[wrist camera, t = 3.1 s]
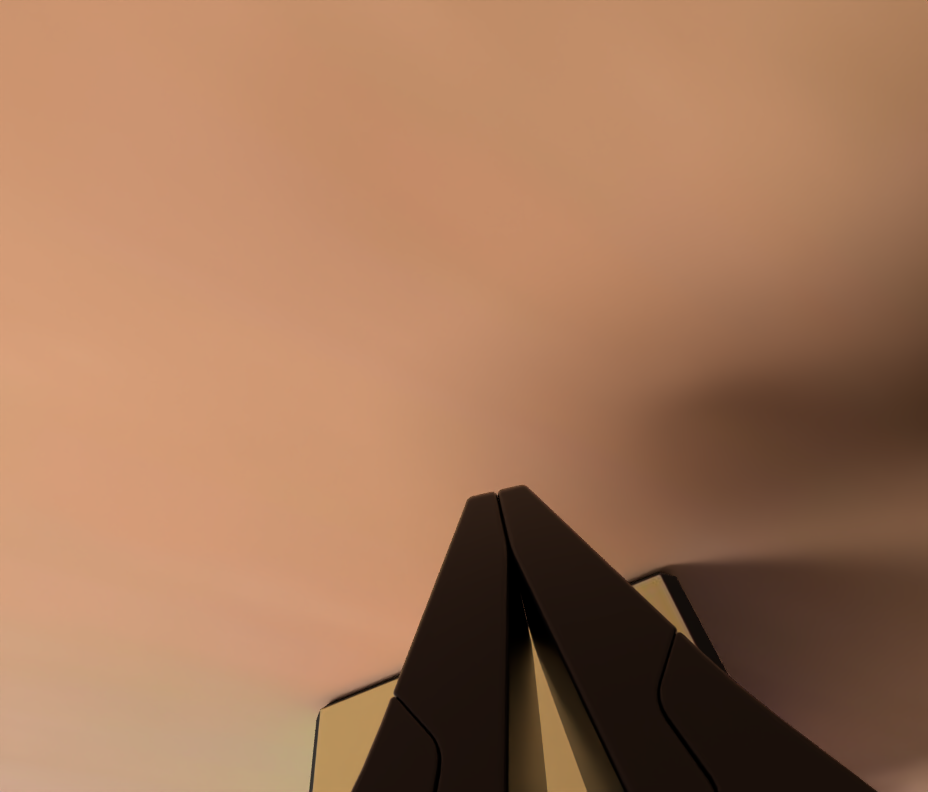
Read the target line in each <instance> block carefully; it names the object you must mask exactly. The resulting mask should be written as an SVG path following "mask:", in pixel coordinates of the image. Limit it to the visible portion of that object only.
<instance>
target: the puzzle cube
mask: <svg viewBox="0 0 928 792" xmlns="http://www.w3.org/2000/svg"><path fill="white" fill-rule="evenodd" d="M630 585H632V586H633V587H634V588H635V589H636V590H637V591H638V592H639V593H640V594H641V595H642V596H643V597H644V598H645V599H646V600H647V601H648V602H649V603H651V604H652V605H653V606H654V607H655V608H656V609H657V610H658V611H659V612H660V613H661V614H662V615H663V616H664V617H665V618H666V619H667V620H668V621H670V622H671V623H672V624H673V625H674V626H675V627H676V628H677V633H678V632H681V633H683V634H684V635H685V636H686V637H687V638H688V639H689V640H690V641H691V642H692V643H693V644H694V645H695V646H696V647H697V648H698V649H699V650H701V651H702V652H703V653H704V654H705V655H706V656H707V657H708V658H709V659H710V660H712V661H713V662H714V663H715V664H716V665H717V666H718V667H719V668H721V669H722V670H723V671H724V672H725V673H726V674H727V672H726V670H725V668H724V666H723V665H722V663H721V661H720V659H719V657H718V655H717V653H716V651H715V649H714V648H713V646H712V644H711V642H710V640H709V638H708V636H707V634H706V632H705V631H704V629H703V627H702V625H701V623H700V621H699V619H698V617H697V615H696V614H695V612H694V610H693V608H692V606H691V604H690V602H689V600H688V598H687V597H686V595H685V593H684V591H683V589H682V587H681V585H680V583H679V581H678V580H677V578H676V577H675V576H671V575H668V574H664V573H660V572H658V573H656V574H653V575H651V576H648V577H646V578H643V579H641V580H638V581H636V582H634V583H631V584H630ZM528 628H529V626H528ZM529 633H530V630H529ZM530 638H531V643H532V650H533V657H534V666H535V676H536V685H537V695H538V704H539V714H540V723H541V733H542V743H543V752H544V762H545V771H546V781H547V790H548V792H587V790H586V787H585V784H584V782H583V779H582V776H581V774H580V771H579V768H578V765H577V763H576V760H575V757H574V754H573V752H572V749H571V746H570V744H569V741H568V738H567V735H566V733H565V730H564V727H563V725H562V722H561V719H560V716H559V714H558V711H557V708H556V706H555V703H554V700H553V697H552V695H551V692H550V689H549V686H548V684H547V681H546V678H545V676H544V673H543V670H542V667H541V665H540V662H539V659H538V656H537V653H536V650H535V647H534V644H533V641H532V637H531V633H530ZM727 675H728V674H727ZM398 678H399V676H398V677H395V678H393V679H391V680H388V681H386V682H383V683H381V684H378V685H376V686H373V687H371V688H368V689H366V690H363V691H361V692H358V693H356V694H353V695H351V696H348V697H346V698H343V699H341V700H338V701H336V702H333V703H331V704H328V705H326V706H325V707H324V708H322V709H321V710H320V712H319V715H318V717H317V720H316V730H315V740H314V750H313V759H312V769H311V779H310V789H309V792H351V790H352V788H353V786H354V784H355V782H356V780H357V778H358V776H359V774H360V772H361V770H362V767H363V765H364V763H365V760H366V758H367V755H368V753H369V751H370V748H371V746H372V744H373V741H374V739H375V736H376V734H377V732H378V729H379V727H380V724H381V722H382V719H383V717H384V714H385V711H386V709H387V706H388V703H389V701H390V699H391V698H392V697H394V695H393V691H394V689H395V686H396V684H397V681H398Z"/></svg>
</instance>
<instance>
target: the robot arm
mask: <svg viewBox="0 0 928 792" xmlns="http://www.w3.org/2000/svg"><path fill="white" fill-rule="evenodd" d="M498 499H499V500H498ZM522 601H523V602H522ZM523 605H524V606H523ZM524 609H525V610H524ZM525 614H526V615H525ZM526 618H527V619H526ZM527 622H528V623H527ZM528 626H529V628H528ZM529 630H530V633H531V637H532V641H533V644H534V647H535V650H536V653H537V656H538V659H539V662H540V665H541V667H542V670H543V673H544V676H545V678H546V681H547V684H548V686H549V689H550V692H551V695H552V697H553V700H554V703H555V706H556V708H557V711H558V714H559V716H560V719H561V722H562V725H563V727H564V730H565V733H566V735H567V738H568V741H569V744H570V746H571V749H572V752H573V754H574V757H575V760H576V763H577V765H578V768H579V771H580V774H581V776H582V779H583V782H584V784H585V787H586V790H587V792H877V791H876V790H875V789H873V788H872V787H871V786H869V785H868V784H867V783H866V782H864V781H863V780H862V779H860V778H859V777H858V776H856V775H855V774H854V773H852V772H851V771H850V770H848V769H847V768H846V767H844V766H843V765H842V764H840V763H839V762H838V761H837V760H835V759H834V758H833V757H831V756H830V755H829V754H827V753H826V752H825V751H823V750H822V749H821V748H819V747H818V746H817V745H815V744H814V743H813V742H811V741H810V740H809V739H808V738H806V737H805V736H804V735H802V734H801V733H800V732H798V731H797V730H796V729H794V728H793V727H792V726H790V725H789V724H788V723H786V722H785V721H784V720H783V719H781V718H780V717H779V716H777V715H776V714H775V713H774V712H772V711H771V710H770V709H769V708H767V707H766V706H765V705H764V704H762V703H761V702H760V701H759V700H757V699H756V698H755V697H754V696H752V695H751V694H750V693H749V692H747V691H746V690H745V689H744V688H742V687H741V686H740V685H739V684H737V683H736V682H735V681H734V680H733V679H732V678H731V677H730V676H728V675H727V674H726V673H725V672H724V671H723V670H722V669H721V668H719V667H718V666H717V665H716V664H715V663H714V662H713V661H712V660H710V659H709V658H708V657H707V656H706V655H705V654H704V653H703V652H702V651H701V650H699V649H698V648H697V647H696V646H695V645H694V644H693V643H692V642H691V641H690V640H689V639H688V638H687V637H686V636H685V635H684V634H683V633H681V632H678V633H677V628H676V627H675V626H674V625H673V624H672V623H671V622H670V621H668V620H667V619H666V618H665V617H664V616H663V615H662V614H661V613H660V612H659V611H658V610H657V609H656V608H655V607H654V606H653V605H652V604H651V603H649V602H648V601H647V600H646V599H645V598H644V597H643V596H642V595H641V594H640V593H639V592H638V591H637V590H636V589H635V588H634V587H633V586H632V585H630V584H629V583H628V582H627V581H626V580H625V579H624V578H623V577H622V576H621V575H620V574H619V573H618V572H617V571H616V570H615V569H614V568H613V567H611V566H610V565H609V564H608V563H607V562H606V561H605V560H604V559H603V558H602V557H601V556H600V555H599V554H598V553H597V552H596V551H595V550H594V549H592V548H591V547H590V546H589V545H588V544H587V543H586V542H585V541H584V540H583V539H582V538H581V537H580V536H579V535H578V534H577V533H576V532H575V531H573V530H572V529H571V528H570V527H569V526H568V525H567V524H566V523H565V522H564V521H563V520H562V519H561V518H560V517H559V516H558V515H557V514H556V513H554V512H553V511H552V510H551V509H550V508H549V507H548V506H547V505H546V504H545V503H544V502H543V501H542V500H541V499H540V498H539V497H538V496H537V495H535V494H534V493H533V492H532V491H531V490H530V489H529V488H528V487H527V486H525V485H519V486H514V487H510V488H506V489H502V490H500V491H499V492H498V496H497V494H496V493H495V492H489V493H484V494H480V495H476V496H472V497H470V498H469V499H468V500H467V502H466V505H465V507H464V510H463V512H462V515H461V517H460V520H459V523H458V525H457V528H456V530H455V533H454V536H453V538H452V541H451V543H450V546H449V549H448V551H447V554H446V556H445V559H444V562H443V564H442V567H441V569H440V572H439V575H438V577H437V580H436V582H435V585H434V588H433V590H432V593H431V595H430V598H429V600H428V603H427V606H426V608H425V611H424V613H423V616H422V619H421V621H420V624H419V626H418V629H417V632H416V634H415V637H414V639H413V642H412V645H411V647H410V650H409V652H408V655H407V658H406V660H405V663H404V665H403V668H402V671H401V673H400V676H399V678H398V681H397V684H396V686H395V689H394V691H393V695H394V697H392V698H391V699H390V701H389V703H388V706H387V709H386V711H385V714H384V717H383V719H382V722H381V724H380V727H379V729H378V732H377V734H376V736H375V739H374V741H373V744H372V746H371V748H370V751H369V753H368V755H367V758H366V760H365V763H364V765H363V767H362V770H361V772H360V774H359V776H358V778H357V780H356V782H355V784H354V786H353V788H352V790H351V792H548V790H547V781H546V771H545V762H544V752H543V743H542V733H541V723H540V714H539V704H538V695H537V685H536V676H535V666H534V657H533V650H532V643H531V638H530V633H529Z"/></svg>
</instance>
